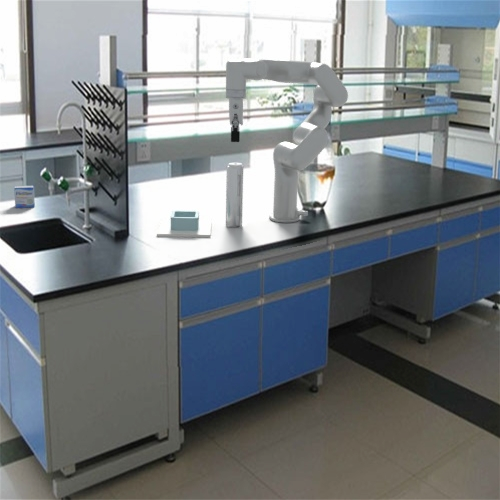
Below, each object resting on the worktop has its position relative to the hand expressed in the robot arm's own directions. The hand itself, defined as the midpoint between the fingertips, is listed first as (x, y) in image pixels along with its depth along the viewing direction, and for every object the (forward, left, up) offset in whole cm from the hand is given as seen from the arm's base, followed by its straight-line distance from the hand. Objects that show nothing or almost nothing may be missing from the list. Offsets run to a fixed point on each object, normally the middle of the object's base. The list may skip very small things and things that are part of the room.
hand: (235, 139), depth 276 cm
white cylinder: (0, 0, -34) cm, 34 cm away
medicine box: (+88, -24, -34) cm, 97 cm away
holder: (+19, +6, -34) cm, 40 cm away
